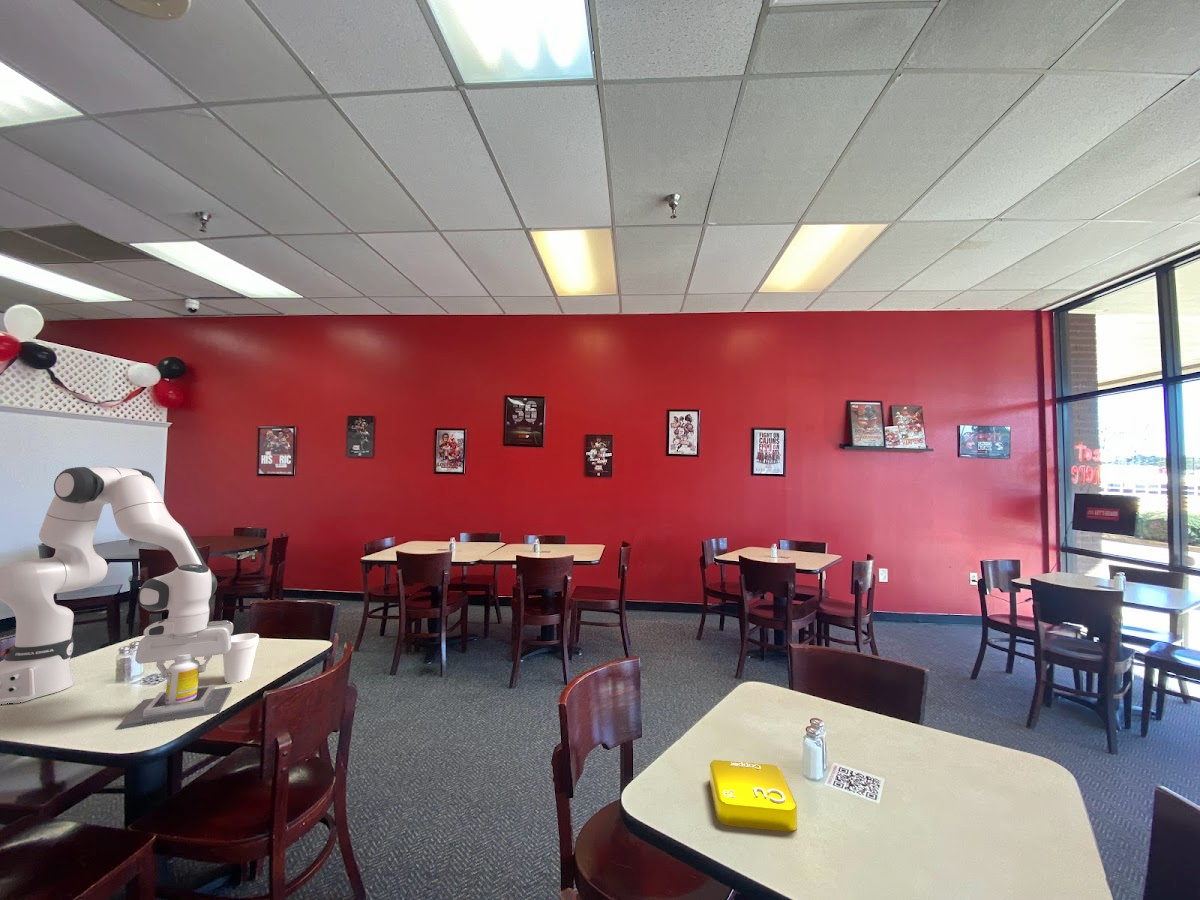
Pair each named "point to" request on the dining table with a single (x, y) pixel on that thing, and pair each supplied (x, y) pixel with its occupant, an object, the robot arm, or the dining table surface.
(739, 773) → the element tile
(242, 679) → the foam cup
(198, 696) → the grey tray
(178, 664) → the supplement bottle
